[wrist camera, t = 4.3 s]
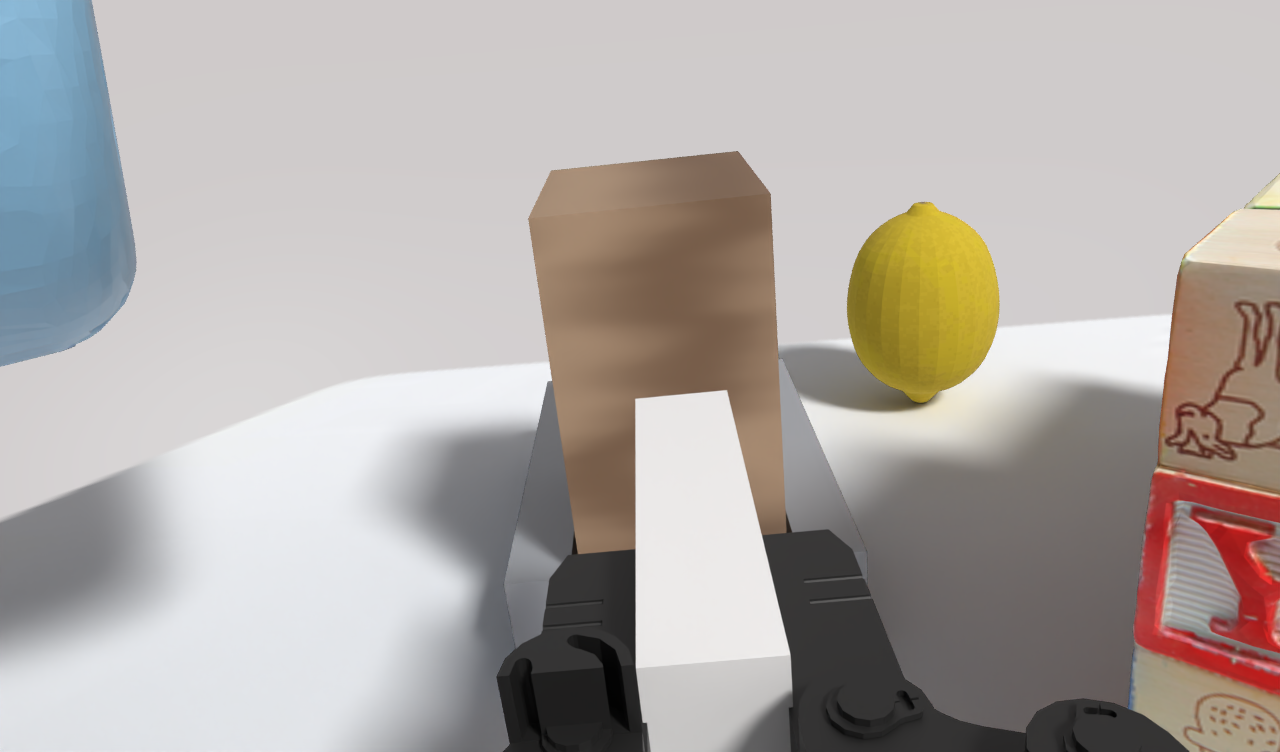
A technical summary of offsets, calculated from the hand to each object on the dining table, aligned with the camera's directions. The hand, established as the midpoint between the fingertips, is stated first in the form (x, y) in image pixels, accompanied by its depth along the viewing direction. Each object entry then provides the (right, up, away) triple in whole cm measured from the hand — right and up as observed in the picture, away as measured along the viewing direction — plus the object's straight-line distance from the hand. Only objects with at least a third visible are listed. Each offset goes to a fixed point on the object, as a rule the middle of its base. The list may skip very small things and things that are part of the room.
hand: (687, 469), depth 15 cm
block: (0, -4, +10) cm, 11 cm away
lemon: (+10, 0, +21) cm, 24 cm away
